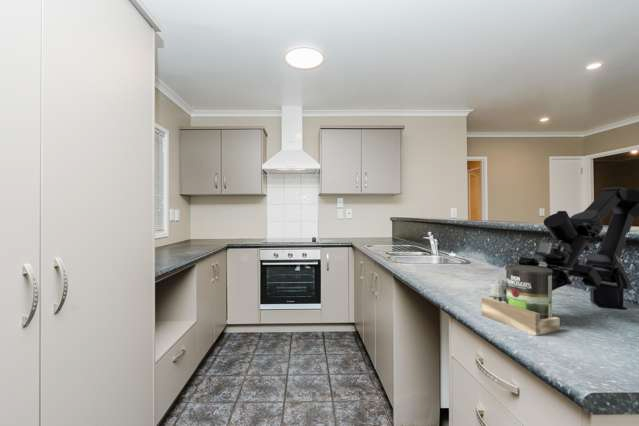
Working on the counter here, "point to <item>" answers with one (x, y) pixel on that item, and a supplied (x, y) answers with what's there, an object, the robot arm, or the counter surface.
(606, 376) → the counter surface
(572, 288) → the counter surface
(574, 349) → the counter surface
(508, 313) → the maple cradle
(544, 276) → the dark container
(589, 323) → the counter surface
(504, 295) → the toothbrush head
